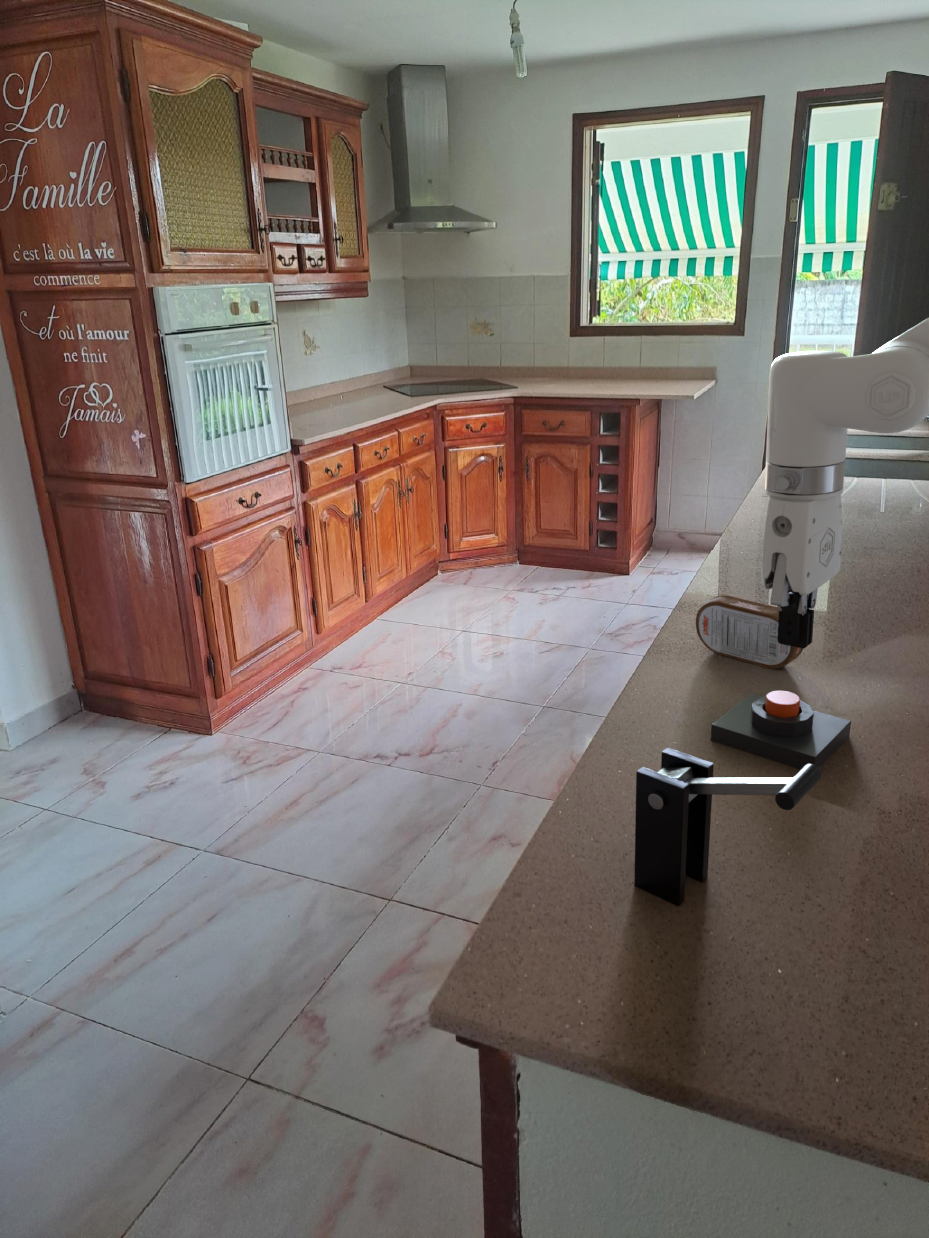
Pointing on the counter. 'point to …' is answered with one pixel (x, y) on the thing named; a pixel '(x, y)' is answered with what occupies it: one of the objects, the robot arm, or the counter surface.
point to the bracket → (671, 828)
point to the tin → (743, 631)
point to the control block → (781, 733)
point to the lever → (751, 785)
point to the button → (782, 704)
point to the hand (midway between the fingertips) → (794, 643)
